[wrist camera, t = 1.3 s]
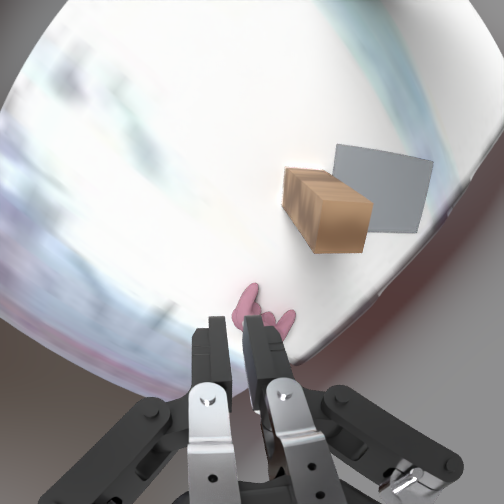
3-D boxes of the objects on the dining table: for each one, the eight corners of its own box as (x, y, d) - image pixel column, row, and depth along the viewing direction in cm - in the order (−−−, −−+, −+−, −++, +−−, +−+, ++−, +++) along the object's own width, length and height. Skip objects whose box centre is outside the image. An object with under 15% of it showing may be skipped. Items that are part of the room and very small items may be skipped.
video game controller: (234, 288, 44) (223, 328, 40) (255, 278, 41) (245, 321, 37) (277, 318, 48) (271, 355, 44) (299, 310, 46) (294, 350, 41)
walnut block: (284, 166, 35) (323, 200, 23) (322, 169, 36) (373, 203, 24) (281, 204, 37) (314, 253, 26) (317, 205, 38) (362, 252, 27)
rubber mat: (323, 229, 40) (324, 230, 39) (336, 143, 34) (337, 144, 34) (415, 232, 42) (416, 233, 42) (432, 161, 37) (433, 161, 36)
